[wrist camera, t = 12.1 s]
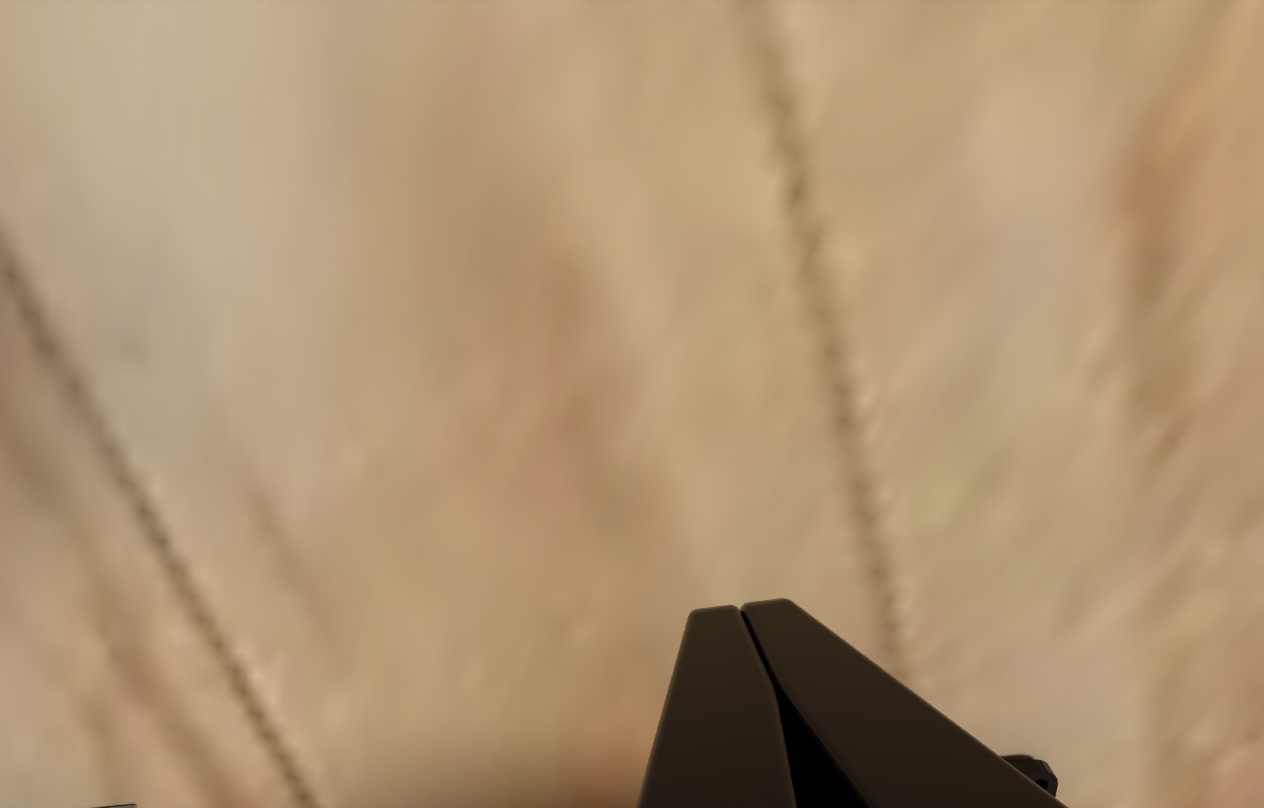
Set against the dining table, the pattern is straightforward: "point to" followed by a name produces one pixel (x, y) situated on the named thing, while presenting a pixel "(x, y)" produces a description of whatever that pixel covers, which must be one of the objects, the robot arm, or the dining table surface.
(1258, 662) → the dining table surface
